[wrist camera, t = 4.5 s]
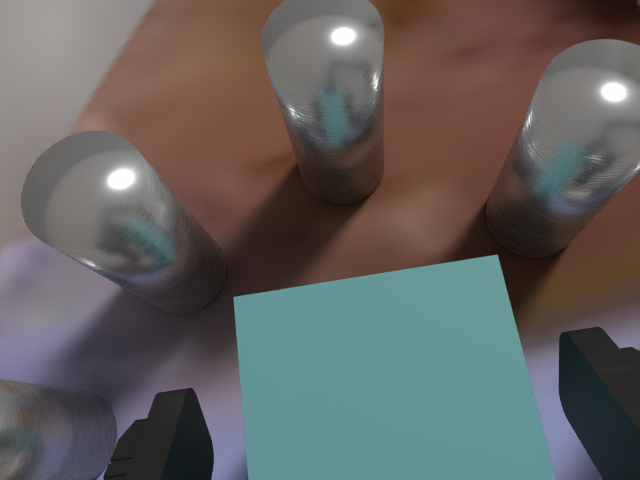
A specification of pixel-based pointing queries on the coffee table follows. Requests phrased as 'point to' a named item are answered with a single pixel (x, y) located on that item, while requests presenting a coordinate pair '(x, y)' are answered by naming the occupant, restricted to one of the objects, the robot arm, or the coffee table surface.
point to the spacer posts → (321, 181)
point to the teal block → (389, 379)
